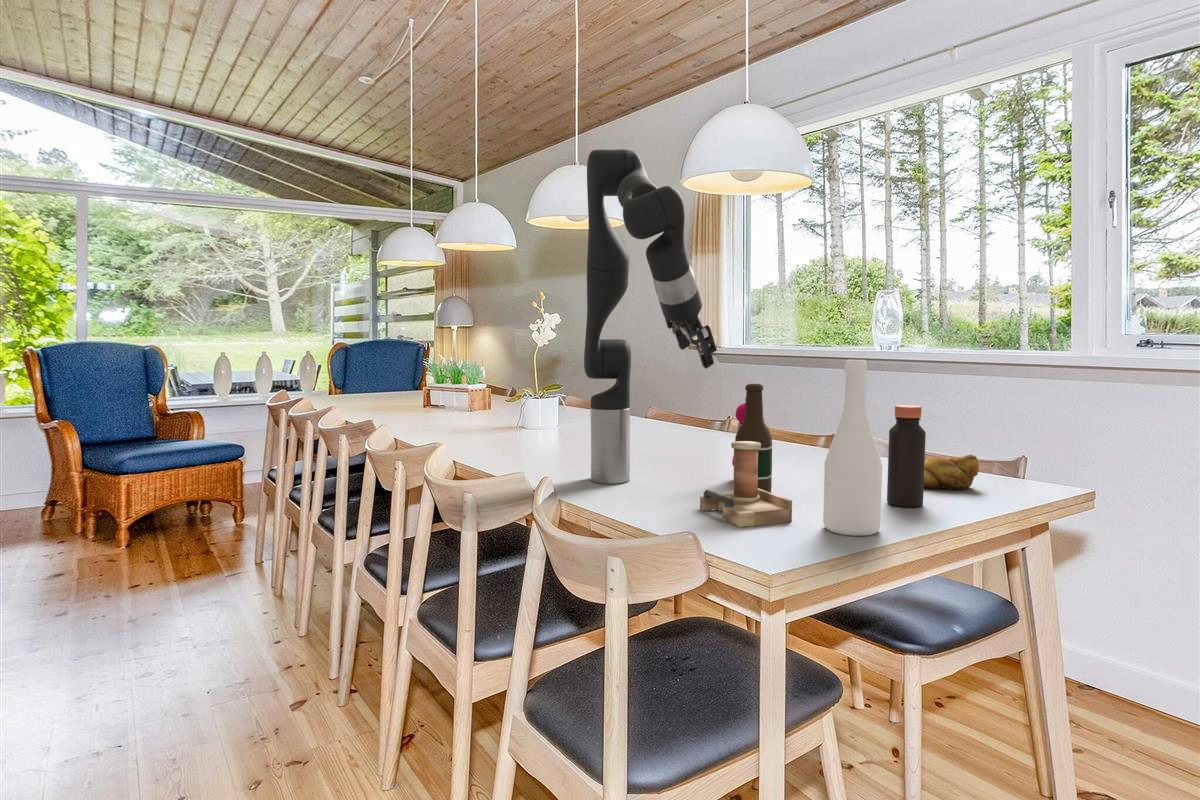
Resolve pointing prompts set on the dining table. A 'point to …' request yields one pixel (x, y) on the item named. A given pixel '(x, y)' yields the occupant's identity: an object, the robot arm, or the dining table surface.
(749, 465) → the bobbin
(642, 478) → the dining table surface
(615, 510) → the dining table surface
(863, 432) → the wine bottle
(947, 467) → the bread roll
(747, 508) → the wooden tray with handle
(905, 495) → the vinegar
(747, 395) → the beer bottle
